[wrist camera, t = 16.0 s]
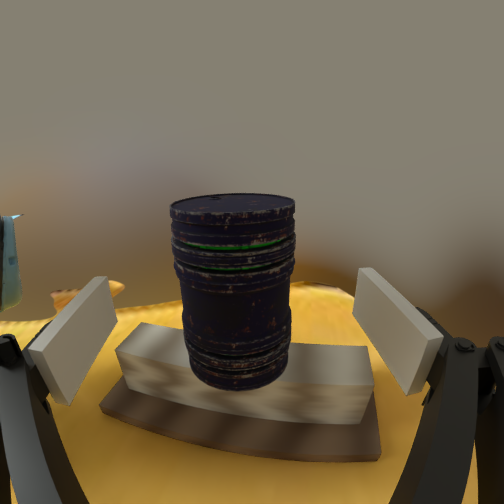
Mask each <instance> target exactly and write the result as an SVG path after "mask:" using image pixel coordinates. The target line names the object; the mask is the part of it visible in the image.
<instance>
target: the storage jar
mask: <svg viewBox="0 0 504 504" xmlns="http://www.w3.org/2000/svg"><path fill="white" fill-rule="evenodd" d="M294 213H295V201H294V200H293V199H291V198H288V197H285V196H279V195H271V194H257V193H231V194H230V193H229V194H214V195H204V196H197V197H191V198H186V199H182V200H179V201H175V202H173V203H172V204H170V216H171V218H172V221H173V222H172V224H171V231H172V238H171V242H172V253H173V255H174V261H175V262H174V268H175V270H176V275H177V277H178V278H179V280H180V287H181V295H182V303H183V312H182V322H183V328H184V329H183V335H184V341H185V345H186V348H187V351H188V355H189V362H190V367H191V370H192V371H193V373H194V375H195V376H196V377H197V378H198V379H199V380H201V381H202V382H203V383H205V384H207V385H209V386H211V387H213V388H216V389H220V390H224V391H233V392H241V391H250V390H255V389H259V388H262V387H264V386H266V385H269V384H270V383H272V382H274V381H275V380H276V379H278V378H279V377H280V376H281V375H282V374H283V372H284V371H285V369H286V367H287V364H288V350H289V345H290V341H291V323H292V320H291V309H290V306H289V292H290V275H291V274H292V272H293V269H294V264H295V258H294V251H295V244H296V243H295V242H296V240H295V238H296V235H295V232H294V230H295V220H294V218H293V214H294Z"/></svg>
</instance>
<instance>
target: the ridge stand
mask: <svg viewBox="0 0 504 504" xmlns="http://www.w3.org/2000/svg"><path fill="white" fill-rule="evenodd" d="M115 352H116V355H117V358H118V361H119V364H120V367H121V369H122V372H123V376H122V377H121V378H120V380H119V381H118V382H117V383H116V384H115V386H114V387H113V388H112V389H111V391H110V392H109V393H108V394H107V395H106V397H105V398H104V399H103V400H102V402H101V403H100V404H99V406H100V408H101V410H102V412H103V413H104V414H107V415H109V416H112V417H114V418H116V419H119V420H121V421H124V422H127V423H129V424H132V425H135V426H137V427H140V428H143V429H146V430H149V431H152V432H155V433H158V434H161V435H164V436H167V437H171V438H174V439H178V440H181V441H185V442H189V443H193V444H197V445H201V446H205V447H209V448H214V449H218V450H223V451H228V452H234V453H239V454H245V455H252V456H258V457H266V458H274V459H284V460H295V461H311V462H367V461H377V460H378V458H379V457H380V455H381V446H380V437H379V428H378V420H377V413H376V406H375V399H374V392H373V388H374V380H373V374H372V369H371V363H370V358H369V353H368V348H367V346H343V345H321V344H304V343H290V345H289V350H288V364H287V367H286V369H285V371H284V372H283V374H282V375H281V376H280V377H279V378H278V379H276V380H275V381H274V382H272V383H270V384H269V385H266V386H264V387H262V388H259V389H255V390H250V391H241V392H233V391H224V390H220V389H216V388H213V387H211V386H209V385H207V384H205V383H203V382H202V381H201V380H199V379H198V378H197V377H196V376H195V375H194V373H193V371H192V370H191V367H190V362H189V355H188V351H187V348H186V345H185V341H184V335H183V330H182V329H176V328H170V327H164V326H159V325H153V324H148V323H143V322H141V323H140V324H139V325H138V326H137V327H136V328H135V329H134V330H133V331H132V332H131V333H130V335H129V336H128V337H127V338H126V339H125V340H124V341H123V342H122V343H121V344H120V345H119V346H118V347H117V348H116V349H115Z"/></svg>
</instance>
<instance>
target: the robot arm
mask: <svg viewBox="0 0 504 504" xmlns="http://www.w3.org/2000/svg"><path fill="white" fill-rule="evenodd" d="M15 241H16V240H15V232H14V222H13V218H12V217H6V216H4V217H2V218H1V216H0V313H1V312H3V311H4V310H6V309H8V308H10V307H13V306H15V305H17V304H18V303H20V301H21V299H22V286H21V280H20V273H19V266H18V258H17V251H16V242H15ZM352 314H353V316H354V317H355V319H356V320H357V322H358V323H359V324H360V326H361V327H362V329H363V330H364V332H365V333H366V335H367V336H368V338H369V339H370V341H371V342H372V344H373V345H374V347H375V348H376V350H377V351H378V353H379V354H380V356H381V357H382V359H383V360H384V362H385V363H386V365H387V367H388V368H389V370H390V371H391V373H392V374H393V376H394V377H395V379H396V381H397V382H398V384H399V385H400V387H401V388H402V390H403V392H404V393H405V395H406V396H408V395H411V394H414V393H418V392H421V391H422V389H423V386H424V384H425V382H426V380H427V382H428V383H429V385H430V386H431V387H430V389H429V391H428V393H427V395H426V397H425V399H424V401H423V403H422V406H424V409H423V413H422V416H421V420H420V423H419V427H418V430H417V433H416V436H415V439H414V442H413V445H412V448H411V451H410V454H409V457H408V459H407V462H406V465H405V467H404V470H403V472H402V475H401V477H400V480H399V482H398V484H397V487H396V489H395V491H394V493H393V495H392V498H391V500H390V502H389V504H461V503H462V500H463V496H464V492H465V488H466V484H467V479H468V475H469V470H470V465H471V459H472V453H473V446H474V439H475V448H476V458H477V472H478V504H504V337H498V336H497V337H493V338H491V339H490V341H489V344H488V346H487V347H485V348H477V347H476V346H475V344H474V343H473V342H471V341H470V340H468V339H465V338H459V337H458V338H453V337H452V336H451V335H450V334H449V333H448V332H447V331H445V329H444V328H443V327H442V326H441V325H440V324H438V323H437V322H436V321H435V320H434V319H433V318H432V317H431V316H430V315H429V314H428V313H427V312H425V311H424V310H422V309H420V308H418V307H414V306H413V305H412V304H411V303H409V302H408V301H407V300H406V299H405V298H404V297H403V296H402V295H401V294H400V293H399V292H398V291H397V290H396V289H395V288H394V287H393V286H391V285H390V284H389V283H388V282H387V281H386V280H385V279H384V278H383V277H381V276H380V275H379V274H378V273H377V272H376V271H375V270H374V269H373V268H359V271H358V279H357V287H356V293H355V300H354V306H353V312H352ZM117 322H118V321H117V317H116V313H115V309H114V305H113V301H112V297H111V292H110V288H109V283H108V278H107V277H94V278H93V279H92V280H91V281H90V282H89V283H88V284H87V285H86V286H85V287H84V288H83V289H82V290H81V291H80V292H79V293H78V294H77V295H76V296H75V297H74V298H73V299H72V300H71V301H70V302H69V303H68V305H67V306H66V307H65V308H64V309H63V310H62V311H61V312H60V313H59V314H58V315H57V316H56V317H55V318H54V320H52V321H50V322H49V323H47V324H45V325H44V326H43V328H42V329H41V330H40V331H39V332H38V333H37V334H36V335H35V337H34V338H33V339H32V340H31V341H30V342H29V343H28V344H27V346H26V347H25V348H24V349H23V350H22V351H21V349H20V347H19V345H18V342H17V340H16V338H15V336H14V335H12V334H4V335H1V336H0V504H12V503H11V489H10V477H11V481H12V484H13V488H14V492H15V495H16V498H17V502H18V504H89V502H88V500H87V498H86V496H85V494H84V492H83V490H82V488H81V486H80V484H79V482H78V480H77V478H76V476H75V473H74V471H73V469H72V467H71V464H70V462H69V459H68V457H67V454H66V452H65V449H64V447H63V444H62V441H61V439H60V436H59V433H58V430H57V427H56V424H55V421H54V418H53V414H52V411H51V408H50V404H49V402H48V401H47V399H46V397H47V396H48V394H49V392H50V394H51V396H52V397H53V399H54V401H55V402H56V403H60V404H64V405H68V406H70V404H71V402H72V400H73V398H74V396H75V395H76V393H77V391H78V389H79V387H80V385H81V383H82V382H83V380H84V378H85V376H86V374H87V373H88V371H89V369H90V367H91V366H92V364H93V362H94V360H95V359H96V357H97V355H98V353H99V352H100V350H101V348H102V347H103V345H104V343H105V342H106V340H107V338H108V337H109V335H110V333H111V332H112V330H113V328H114V327H115V325H116V323H117ZM495 386H496V392H495V389H494V388H495ZM424 404H425V405H424Z"/></svg>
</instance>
